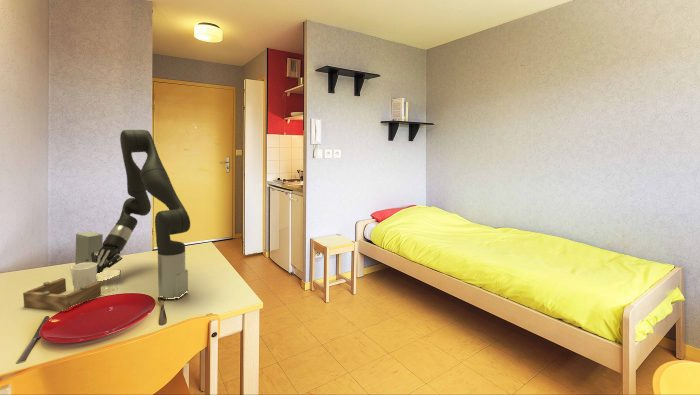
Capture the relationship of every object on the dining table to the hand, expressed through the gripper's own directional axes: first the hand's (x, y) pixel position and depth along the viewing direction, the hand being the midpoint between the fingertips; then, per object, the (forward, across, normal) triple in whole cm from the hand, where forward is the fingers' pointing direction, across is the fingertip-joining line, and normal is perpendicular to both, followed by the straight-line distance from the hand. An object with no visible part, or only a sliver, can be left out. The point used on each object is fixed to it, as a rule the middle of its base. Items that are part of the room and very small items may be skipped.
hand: (94, 276), depth 133 cm
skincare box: (-9, -19, +16) cm, 26 cm away
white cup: (+6, 0, 0) cm, 6 cm away
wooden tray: (+12, 0, -6) cm, 13 cm away
